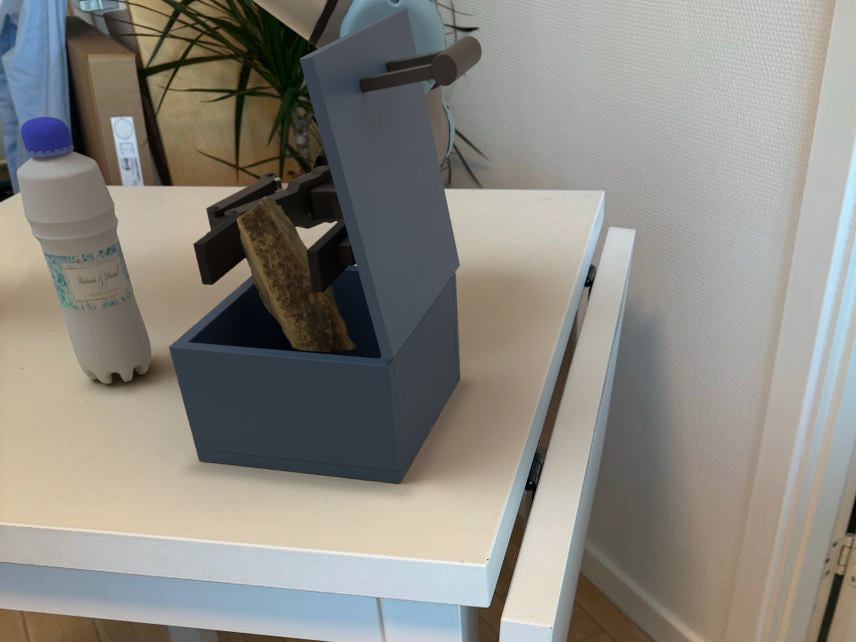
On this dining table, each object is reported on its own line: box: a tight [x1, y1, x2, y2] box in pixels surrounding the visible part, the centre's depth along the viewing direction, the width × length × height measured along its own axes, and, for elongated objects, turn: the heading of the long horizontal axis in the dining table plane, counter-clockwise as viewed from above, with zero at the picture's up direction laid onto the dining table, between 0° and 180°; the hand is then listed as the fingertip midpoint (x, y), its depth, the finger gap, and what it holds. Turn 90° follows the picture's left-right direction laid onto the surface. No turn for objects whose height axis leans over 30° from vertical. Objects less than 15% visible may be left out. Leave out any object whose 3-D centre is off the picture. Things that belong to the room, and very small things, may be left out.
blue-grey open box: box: [168, 265, 461, 485], centre depth 70 cm, size 16×17×9 cm
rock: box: [237, 196, 356, 352], centre depth 66 cm, size 11×9×10 cm
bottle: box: [16, 116, 152, 385], centre depth 73 cm, size 7×7×20 cm
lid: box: [299, 8, 483, 359], centre depth 59 cm, size 17×17×7 cm
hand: (258, 268), depth 61 cm, fingers closed on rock, 7 cm apart
